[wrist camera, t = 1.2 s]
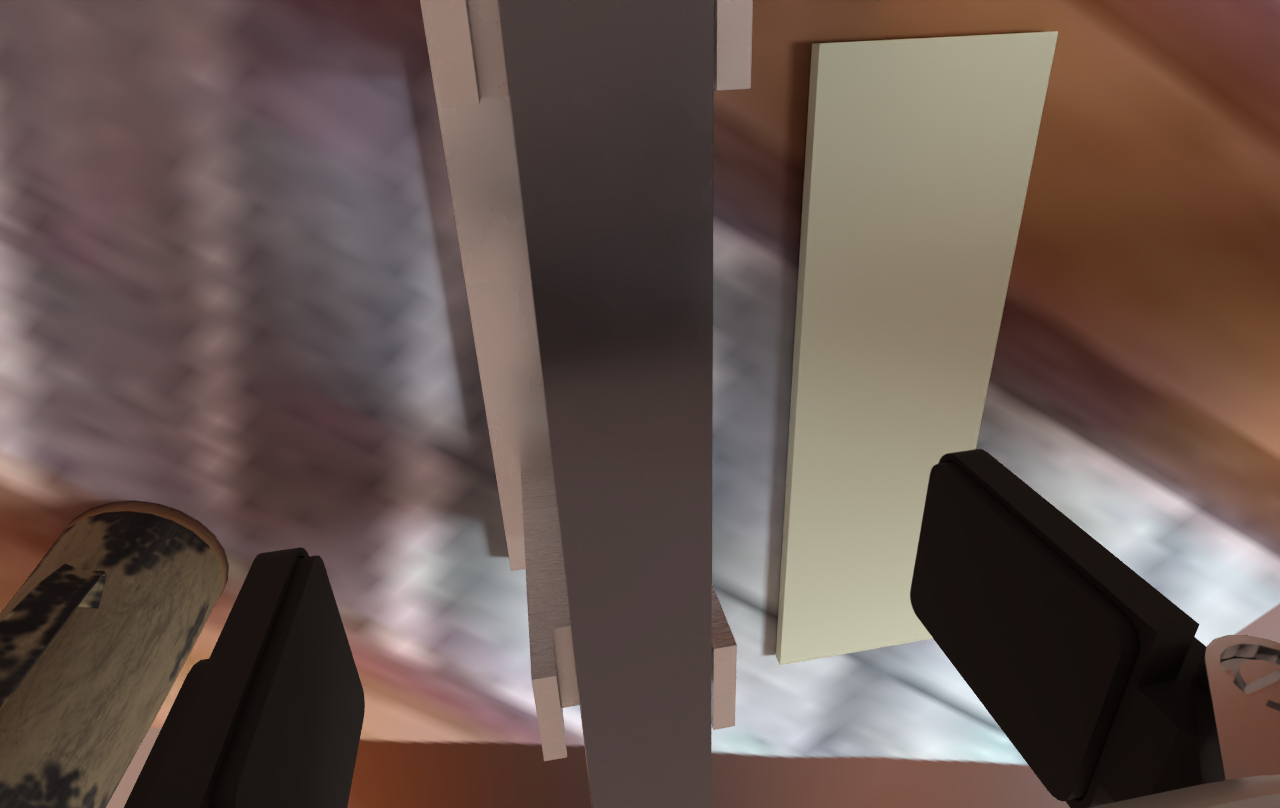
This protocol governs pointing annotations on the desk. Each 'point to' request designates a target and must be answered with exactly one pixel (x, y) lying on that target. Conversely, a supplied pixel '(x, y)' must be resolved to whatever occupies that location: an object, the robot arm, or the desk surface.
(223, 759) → the robot arm
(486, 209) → the rack
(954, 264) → the mat
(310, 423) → the desk surface
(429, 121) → the desk surface
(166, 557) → the mug
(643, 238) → the rail
